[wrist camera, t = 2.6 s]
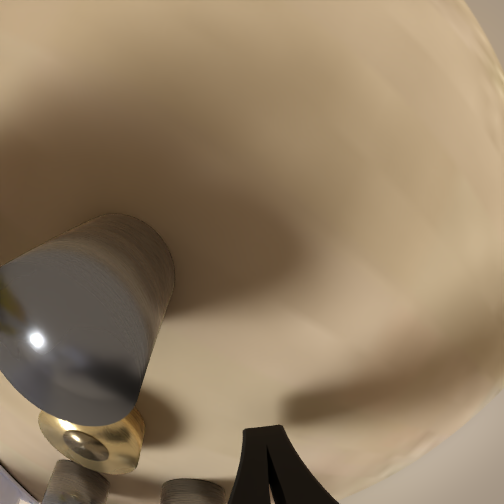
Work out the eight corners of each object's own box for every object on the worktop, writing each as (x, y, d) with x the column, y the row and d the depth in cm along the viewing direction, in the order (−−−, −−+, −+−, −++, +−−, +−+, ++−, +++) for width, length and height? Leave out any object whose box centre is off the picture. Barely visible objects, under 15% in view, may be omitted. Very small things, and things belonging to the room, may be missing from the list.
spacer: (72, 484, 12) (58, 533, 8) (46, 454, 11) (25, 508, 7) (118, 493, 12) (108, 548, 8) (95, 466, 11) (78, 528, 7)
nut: (78, 437, 11) (66, 466, 9) (40, 371, 9) (20, 401, 7) (157, 446, 11) (151, 480, 9) (128, 378, 10) (114, 416, 8)
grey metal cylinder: (83, 325, 9) (23, 413, 4) (59, 221, 8) (-40, 267, 3) (182, 322, 9) (161, 432, 5) (166, 207, 8) (108, 252, 4)
